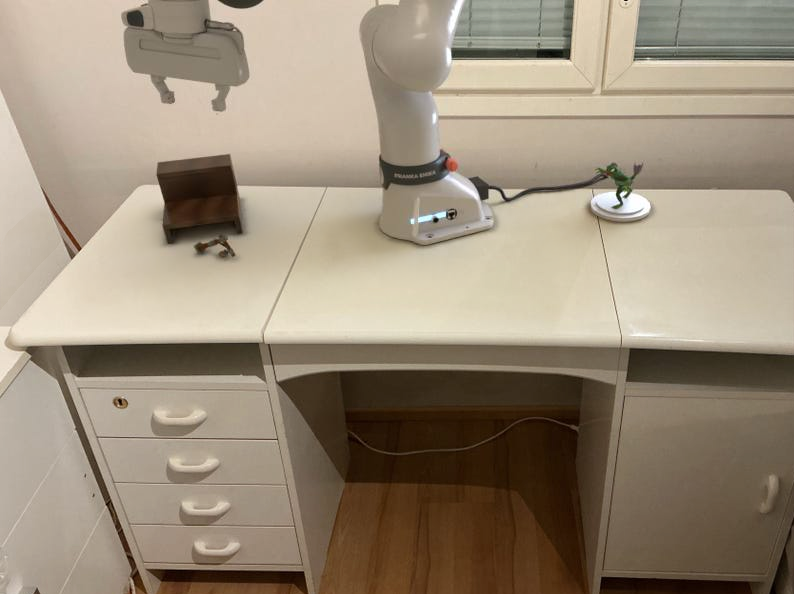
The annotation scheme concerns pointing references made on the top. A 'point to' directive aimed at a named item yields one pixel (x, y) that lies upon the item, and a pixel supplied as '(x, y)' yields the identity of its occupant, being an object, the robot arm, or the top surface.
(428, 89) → the robot arm
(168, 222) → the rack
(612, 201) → the frog figurine
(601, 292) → the top surface
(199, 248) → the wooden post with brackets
